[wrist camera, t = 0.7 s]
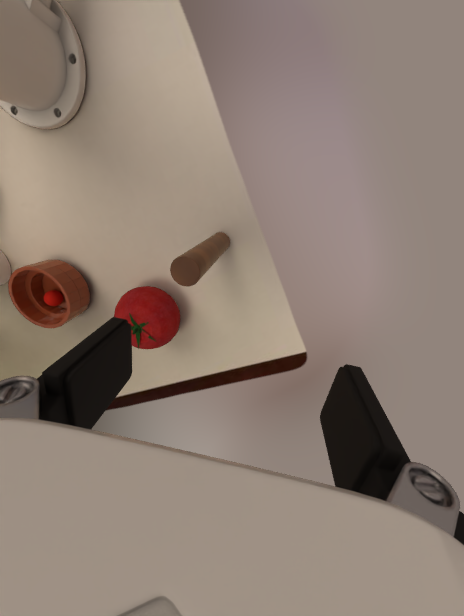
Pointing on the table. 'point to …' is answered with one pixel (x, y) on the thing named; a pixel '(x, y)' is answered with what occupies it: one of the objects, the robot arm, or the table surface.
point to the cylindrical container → (4, 269)
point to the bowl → (40, 279)
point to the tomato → (149, 316)
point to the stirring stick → (198, 259)
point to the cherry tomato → (53, 298)
